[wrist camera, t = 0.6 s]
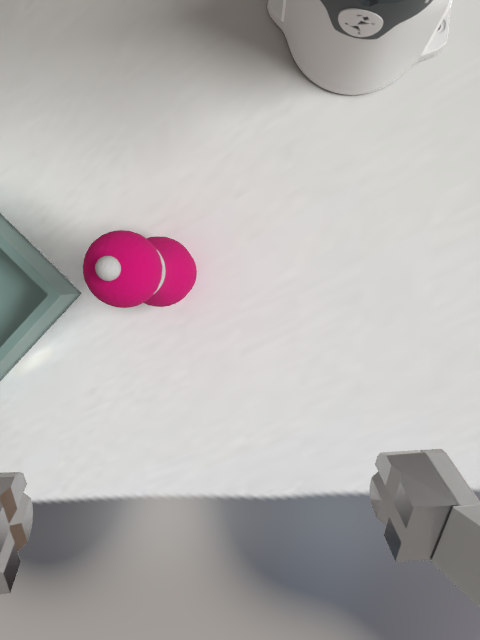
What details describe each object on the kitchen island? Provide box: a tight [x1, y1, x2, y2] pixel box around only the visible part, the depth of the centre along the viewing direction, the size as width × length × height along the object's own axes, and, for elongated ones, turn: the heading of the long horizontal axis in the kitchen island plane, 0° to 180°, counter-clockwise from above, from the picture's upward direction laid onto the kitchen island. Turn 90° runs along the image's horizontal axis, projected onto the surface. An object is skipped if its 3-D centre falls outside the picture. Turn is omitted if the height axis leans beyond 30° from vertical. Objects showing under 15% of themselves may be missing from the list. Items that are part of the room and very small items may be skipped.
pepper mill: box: [83, 230, 196, 308], centre depth 41 cm, size 7×7×20 cm
